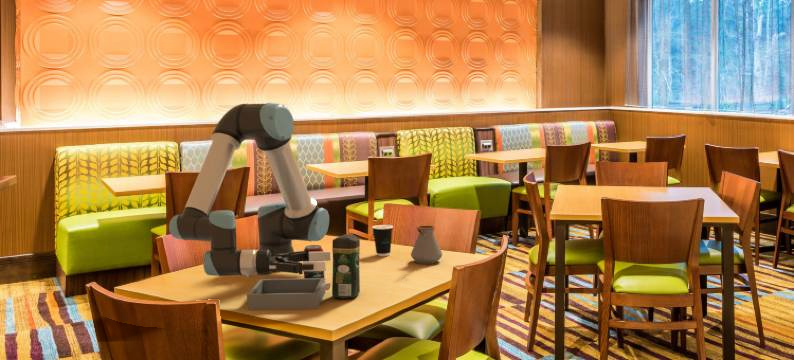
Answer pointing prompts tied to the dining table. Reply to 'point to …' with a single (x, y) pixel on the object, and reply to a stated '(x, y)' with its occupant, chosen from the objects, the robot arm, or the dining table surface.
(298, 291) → the tray
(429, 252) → the coffee pot
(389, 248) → the dixie cup
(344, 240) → the coffee jar
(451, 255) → the dining table surface
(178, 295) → the dining table surface
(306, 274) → the beverage can
